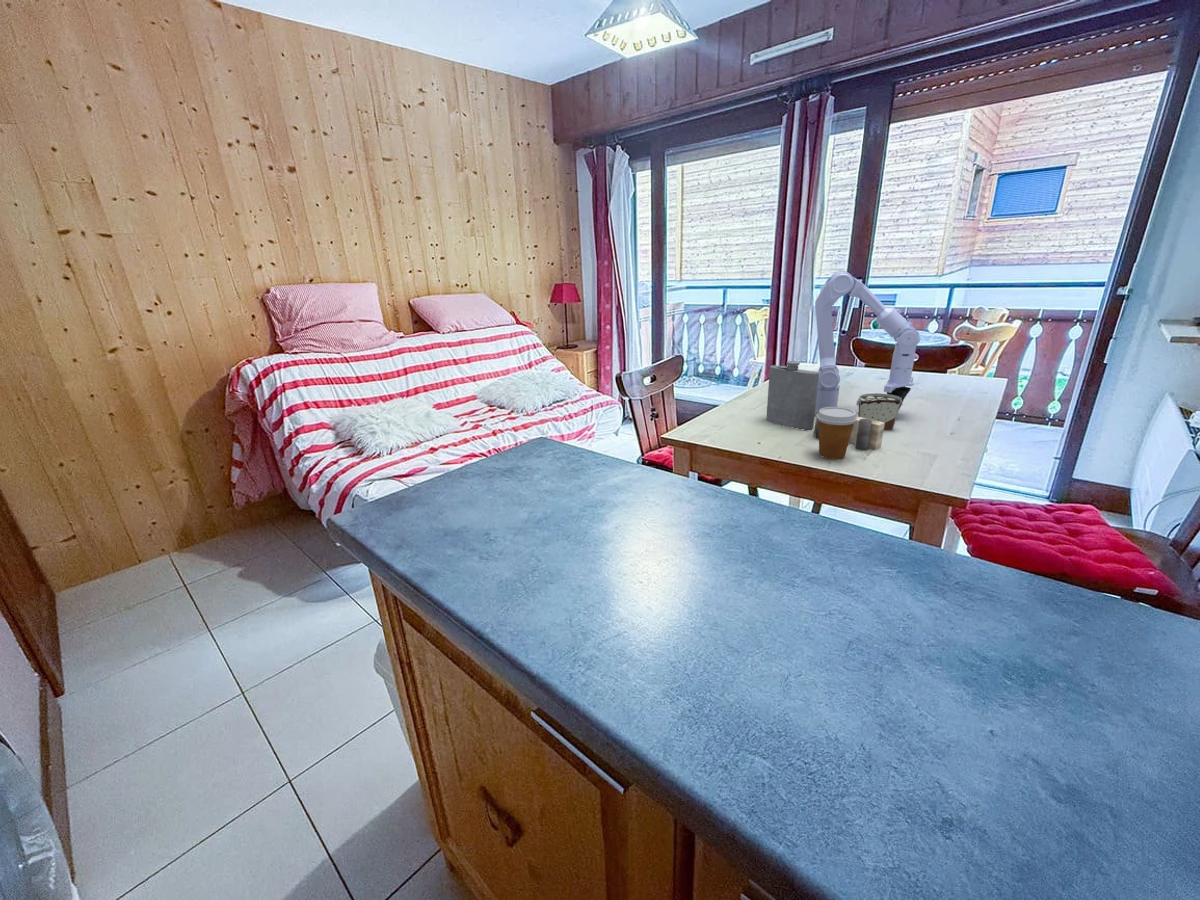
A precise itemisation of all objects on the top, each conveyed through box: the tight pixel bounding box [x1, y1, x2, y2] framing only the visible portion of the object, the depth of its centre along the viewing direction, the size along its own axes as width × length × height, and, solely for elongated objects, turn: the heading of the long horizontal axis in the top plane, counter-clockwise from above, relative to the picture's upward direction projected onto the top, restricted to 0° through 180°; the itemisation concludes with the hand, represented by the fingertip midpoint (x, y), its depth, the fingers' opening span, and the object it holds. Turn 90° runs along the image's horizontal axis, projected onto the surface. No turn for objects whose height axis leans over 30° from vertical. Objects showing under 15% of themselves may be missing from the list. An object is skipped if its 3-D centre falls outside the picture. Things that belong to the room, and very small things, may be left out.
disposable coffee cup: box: [817, 406, 858, 460], centre depth 131 cm, size 10×10×12 cm
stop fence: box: [813, 410, 885, 451], centre depth 140 cm, size 18×6×8 cm, turn 37°
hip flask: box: [765, 360, 819, 431], centre depth 153 cm, size 16×4×20 cm, turn 38°
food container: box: [855, 392, 903, 432], centre depth 148 cm, size 12×6×10 cm, turn 84°
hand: (894, 410), depth 157 cm, fingers closed
